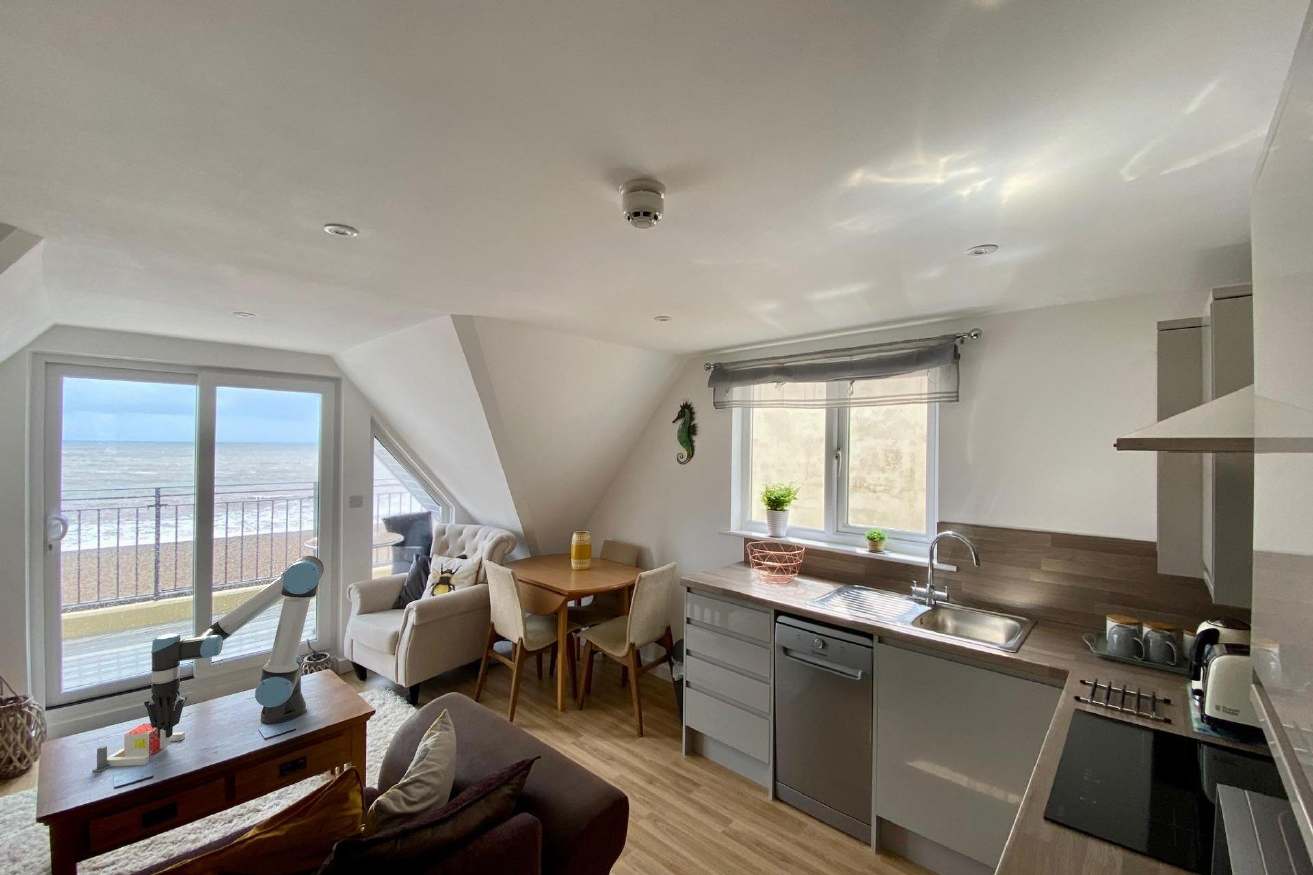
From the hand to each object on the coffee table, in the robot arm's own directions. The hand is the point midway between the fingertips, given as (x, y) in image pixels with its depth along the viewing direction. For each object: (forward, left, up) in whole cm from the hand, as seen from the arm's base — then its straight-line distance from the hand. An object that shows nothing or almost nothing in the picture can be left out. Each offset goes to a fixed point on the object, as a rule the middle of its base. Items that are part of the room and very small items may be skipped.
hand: (165, 746), depth 194 cm
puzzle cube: (+7, -1, -2) cm, 7 cm away
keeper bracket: (+7, +1, -2) cm, 7 cm away
